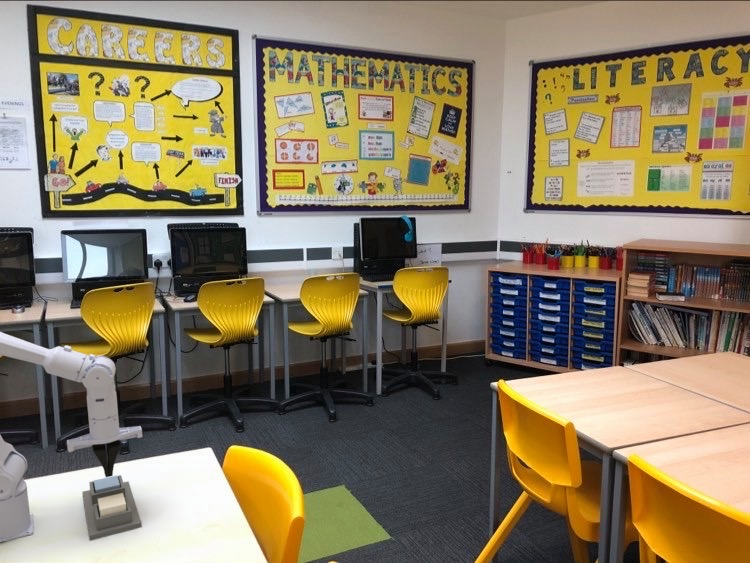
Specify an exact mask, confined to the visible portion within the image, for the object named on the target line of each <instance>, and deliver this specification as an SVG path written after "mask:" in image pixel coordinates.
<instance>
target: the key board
mask: <svg viewBox="0 0 750 563" xmlns="http://www.w3.org/2000/svg"><path fill="white" fill-rule="evenodd" d="M117 476H118V480H119V483H120V488H117V489H112V490H108V491H104V492H99V493H95V489H94V480H92V481H89V490H85V491H82V499H83V500H82V501H83V506H84V512H85V513H84V514H85V520H86V521H85V522H86V526H87V527H86V528H87V532H88V538H89V541H92V540H96V539H100V538H103V537H108V536H112V535H116V534H119V533H124V532H127V531H131V530H135V529H139V528H142V525H143V524H142V521H141V518H140V517H141V516H140V515H139V514H140V513H139V511H138V508H137V504H136V501H135V498H134V494H133V492H132V489H131V485H130V482H129V481H123V476H122V474H120V475H117ZM120 493H123V495H124V499H125V502H126V511H124V512H120V513H116V514H112V515H108V516H104V517H100V512H99V507H98V499H99V498H103V497H108V496H112V495H116V494H120Z"/></svg>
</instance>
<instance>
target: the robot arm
mask: <svg viewBox="0 0 750 563" xmlns="http://www.w3.org/2000/svg"><path fill="white" fill-rule="evenodd" d="M72 348H73V347H72V346H69V345H64V347H63V346H60V345H58V346H55V347H53V348H51V349H50V348H46V347H44V346H40V345H38V344H35V343H32V342H29V341H26V340H24V339H22V338H18V337H15V336H13V335H9V334H7V333H4V332H2V331H0V356H5V357H7V358H11V359H15V360H19V361H20V360H21V361H24V362H29V363H31V364H36V365H40V366H42V367H43V368H44V371H45V373H47V374H49V375H52V376H55V377H60V378H62V379H63V378H64V379H67V380H70V381H73V382H77V383H82V384H83V386H84V387H85V389H86V403H87V404H86V405H87V413H88V414H87V416H88V427H89V433H87V434H84V435H81V436H78V437H75V438H71V439H67V440H66V446H67V452H68V453H71V452H72V453H73V452H74V451H75V450H80V449H85V448H90V447H92V451H93V453H94V455H95V456H96V458H97V459H98V461H99V462H100V465H101V466H102V469H103V472H104V478H107V477H112V476H114V475H113V474H114V467H115V462H116V460H117V456H118V454H119V452H120V450H121V445H122V444H121V441H124V440H128V439H134V438H137V439H141V438H143V429H142V427H141V425H138V426H128V427H120V422H119V420H120V419H119V409H118V396H117V391H116V384H115V375H116V369H117V368H116V364H115V362H114V360H112V359H111V358H110V357H107V356H105V355H97V356H96V355H95V354H93V353H89V355H88V354H85V353H83V352H79V351H76V350H72ZM27 469H28V462H27V459H26V457H25V456H24V455H23V454H21V453H20V452H18V451H17V450H16V449H15V447H14V446H13V444H11V443H8V442H6V441H5V440H4V439H3V437H2V435H1V434H0V543H2V542H6V541H7V542H8V541H11V540H15V539H19V538H23V537H27V536H31V535H33V534H34V514H31V512H30V503H29V496H28V486H27V482H26V481H25V480H24V475H25V473H26V471H27Z"/></svg>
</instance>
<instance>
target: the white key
mask: <svg viewBox="0 0 750 563" xmlns="http://www.w3.org/2000/svg"><path fill="white" fill-rule="evenodd" d="M98 507H99V512H100V517H104V516H108V515H112V514H116V513H120V512H124V511H126V502H125V499H124V495H123V493H120V494H116V495H112V496H108V497H103V498H99V499H98Z"/></svg>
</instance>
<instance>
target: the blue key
mask: <svg viewBox="0 0 750 563" xmlns="http://www.w3.org/2000/svg"><path fill="white" fill-rule="evenodd" d="M118 476H119V475H113V476H110V477H104V478H99V479H94V480H93V481H94V489H95V493H99V492H104V491H108V490H112V489H117V488H120V483H119V480H118Z"/></svg>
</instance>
